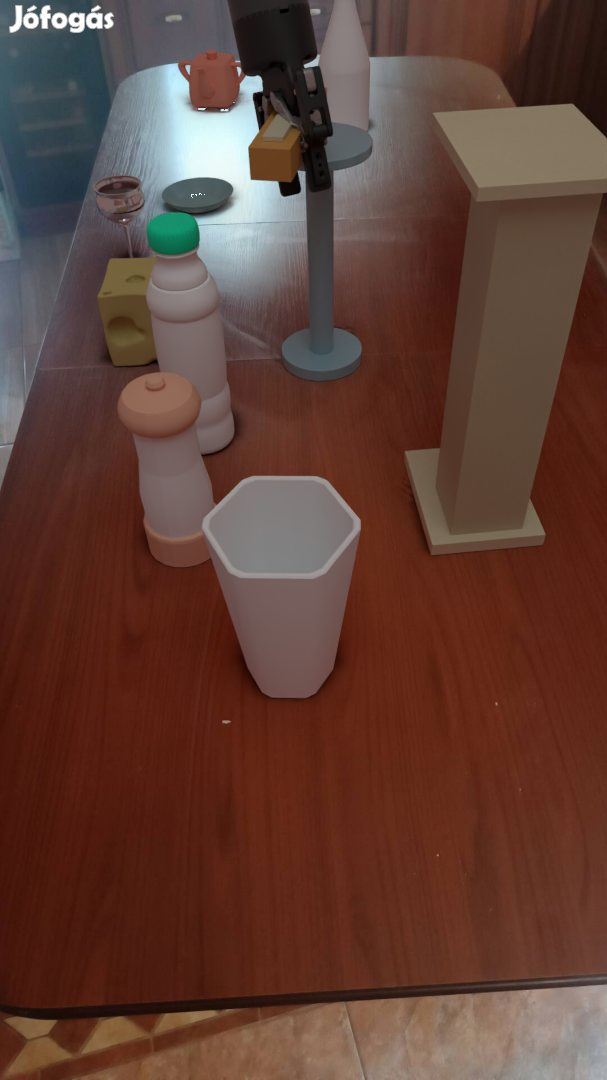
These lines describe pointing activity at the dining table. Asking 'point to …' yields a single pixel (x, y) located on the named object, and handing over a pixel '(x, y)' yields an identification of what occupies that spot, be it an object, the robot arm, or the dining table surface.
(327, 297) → the cake stand
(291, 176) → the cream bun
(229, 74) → the brown sugar bowl
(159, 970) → the dining table surface
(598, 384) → the dining table surface
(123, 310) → the cheese
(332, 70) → the wine bottle
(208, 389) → the water bottle
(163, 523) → the salt shaker
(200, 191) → the saucer
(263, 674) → the cup
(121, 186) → the wineglass
